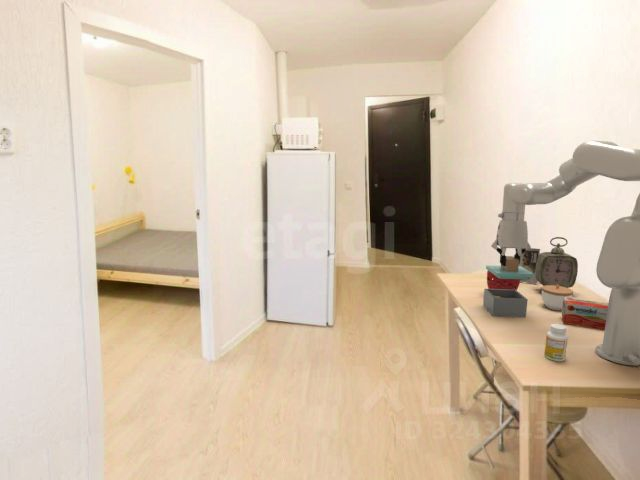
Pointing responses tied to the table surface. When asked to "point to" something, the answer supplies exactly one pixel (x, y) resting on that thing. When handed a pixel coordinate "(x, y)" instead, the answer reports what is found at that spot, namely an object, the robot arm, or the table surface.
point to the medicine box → (584, 313)
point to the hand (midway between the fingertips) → (509, 265)
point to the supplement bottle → (556, 343)
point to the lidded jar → (555, 296)
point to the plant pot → (501, 282)
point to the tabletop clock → (556, 267)
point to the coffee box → (529, 263)
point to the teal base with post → (510, 270)
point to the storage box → (505, 303)
